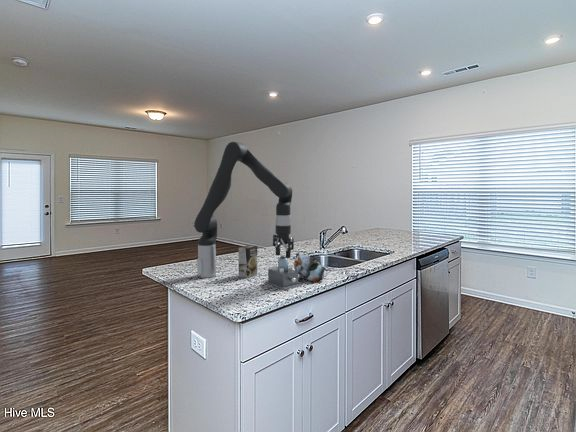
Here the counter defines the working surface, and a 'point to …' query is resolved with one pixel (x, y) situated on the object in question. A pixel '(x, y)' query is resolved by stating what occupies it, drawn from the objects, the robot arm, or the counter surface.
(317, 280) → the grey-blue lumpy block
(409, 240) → the counter surface
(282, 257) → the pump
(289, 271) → the motor
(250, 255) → the coffee box
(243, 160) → the robot arm
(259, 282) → the counter surface
